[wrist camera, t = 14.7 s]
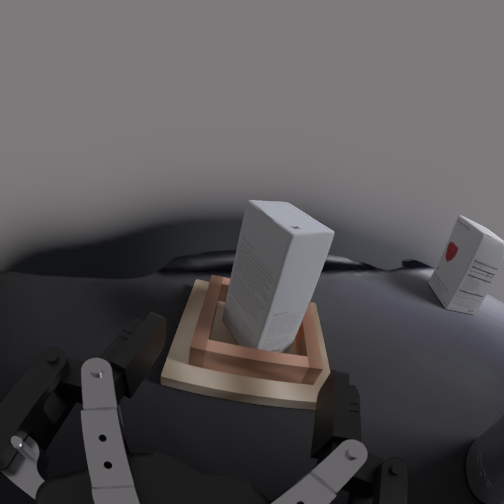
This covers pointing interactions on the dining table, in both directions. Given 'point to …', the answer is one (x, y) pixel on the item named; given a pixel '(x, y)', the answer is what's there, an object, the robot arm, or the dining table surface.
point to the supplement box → (467, 266)
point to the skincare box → (274, 274)
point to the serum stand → (243, 356)
